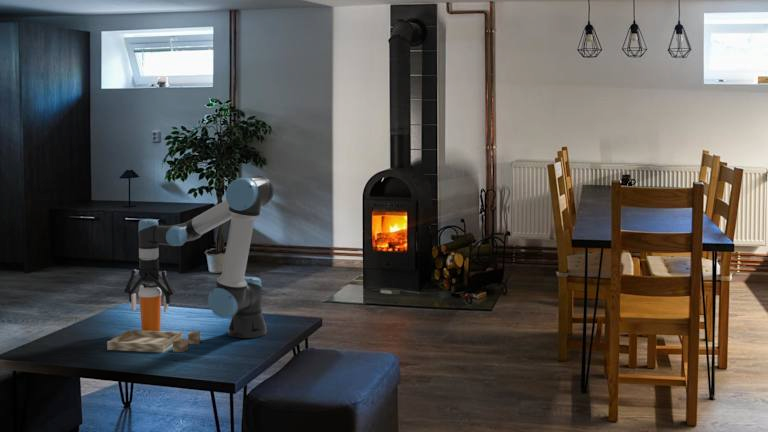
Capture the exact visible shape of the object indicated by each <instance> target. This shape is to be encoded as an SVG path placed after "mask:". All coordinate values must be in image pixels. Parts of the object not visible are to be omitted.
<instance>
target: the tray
mask: <svg viewBox="0 0 768 432" xmlns="http://www.w3.org/2000/svg"><path fill="white" fill-rule="evenodd" d="M178 338H182V339H183V332H182V331H165V330H164V331H162V330H160V331H143V330H142V329H139V330H138V329H128V330H126V331H124V332H122V333H121V334H119V335H117V336H115V337H112V339H110V340H108V341H106V346H107V348H106V349H107V350H108V351H128V352H147V353H148V352H149V353H165V352H166V351H168V350H170V349H172V348H173V340H176V339H178Z"/></svg>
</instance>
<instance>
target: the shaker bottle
mask: <svg viewBox="0 0 768 432" xmlns="http://www.w3.org/2000/svg"><path fill="white" fill-rule="evenodd" d="M162 293H163V292H162V290H161V289H160V288H159V287H158V285H157V284H156V283H150V282H149V283H148V282H145V283H141V285H140V286H139V290H138V293H137V294H138V297H139V298H138V299H139V311H140V325H141V330H143V331H161V325H162V323H161V318H162V317H161V315H162V313H161V312H162Z"/></svg>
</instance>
